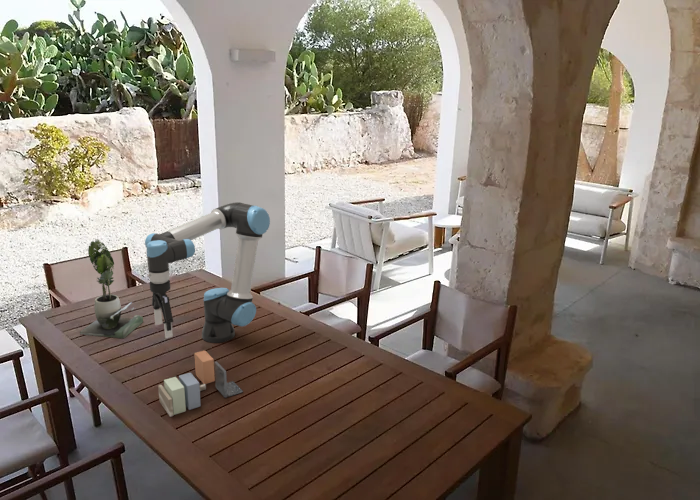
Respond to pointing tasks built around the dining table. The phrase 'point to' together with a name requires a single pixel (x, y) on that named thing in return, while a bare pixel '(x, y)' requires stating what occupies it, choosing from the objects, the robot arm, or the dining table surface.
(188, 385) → the book slate
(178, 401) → the book sage
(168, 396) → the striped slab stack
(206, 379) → the book rust
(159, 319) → the robot arm
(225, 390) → the bookend
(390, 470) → the dining table surface
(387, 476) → the dining table surface
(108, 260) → the potted plant
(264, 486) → the dining table surface
